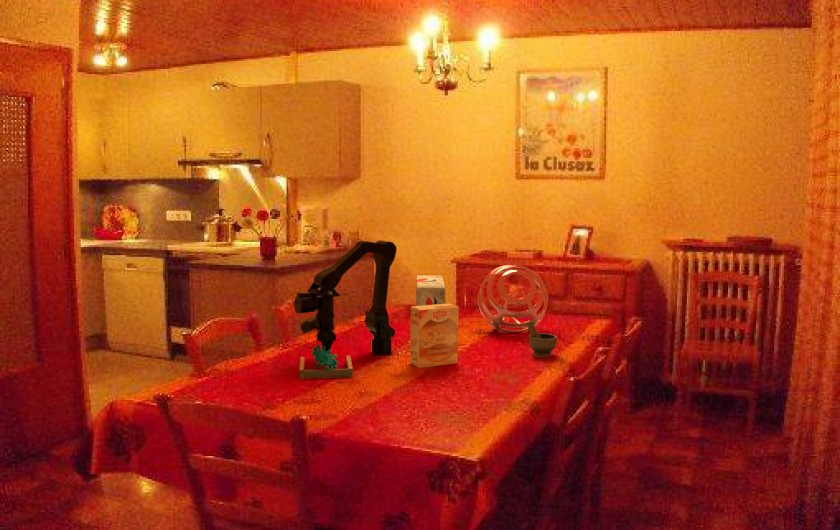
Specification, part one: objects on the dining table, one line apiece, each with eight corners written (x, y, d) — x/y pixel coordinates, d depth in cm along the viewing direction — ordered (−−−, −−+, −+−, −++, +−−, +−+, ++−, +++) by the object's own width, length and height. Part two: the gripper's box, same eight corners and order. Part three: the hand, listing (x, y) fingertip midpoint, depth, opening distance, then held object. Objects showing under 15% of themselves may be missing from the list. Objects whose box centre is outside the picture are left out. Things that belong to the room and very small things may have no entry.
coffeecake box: (418, 368, 244) (419, 309, 241) (409, 363, 250) (409, 306, 247) (458, 363, 250) (459, 306, 248) (448, 358, 257) (448, 302, 254)
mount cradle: (350, 363, 249) (350, 355, 249) (352, 377, 232) (352, 369, 232) (300, 364, 247) (300, 357, 247) (299, 378, 230) (299, 371, 230)
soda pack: (445, 318, 325) (445, 287, 323) (415, 318, 325) (416, 286, 323) (442, 301, 365) (442, 273, 363) (416, 301, 365) (416, 273, 363)
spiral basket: (484, 274, 321) (491, 244, 296) (547, 292, 318) (560, 263, 293) (467, 332, 308) (473, 306, 284) (533, 351, 306) (545, 327, 281)
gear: (324, 369, 235) (309, 344, 238) (313, 381, 237) (298, 355, 241) (346, 367, 244) (331, 342, 248) (335, 377, 246) (320, 353, 250)
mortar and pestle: (559, 354, 264) (560, 320, 263) (552, 360, 256) (553, 325, 254) (528, 350, 269) (529, 317, 267) (520, 356, 260) (521, 322, 259)
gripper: (301, 305, 257) (301, 350, 259) (300, 316, 238) (301, 364, 240) (333, 305, 258) (334, 349, 260) (335, 315, 240) (336, 363, 242)
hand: (325, 356), depth 251 cm, fingers closed
